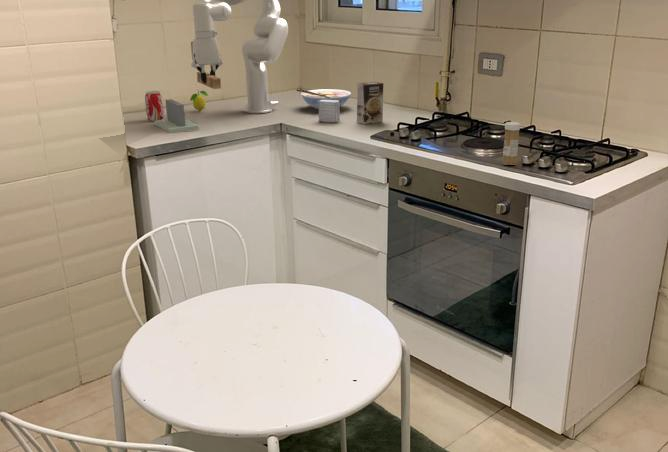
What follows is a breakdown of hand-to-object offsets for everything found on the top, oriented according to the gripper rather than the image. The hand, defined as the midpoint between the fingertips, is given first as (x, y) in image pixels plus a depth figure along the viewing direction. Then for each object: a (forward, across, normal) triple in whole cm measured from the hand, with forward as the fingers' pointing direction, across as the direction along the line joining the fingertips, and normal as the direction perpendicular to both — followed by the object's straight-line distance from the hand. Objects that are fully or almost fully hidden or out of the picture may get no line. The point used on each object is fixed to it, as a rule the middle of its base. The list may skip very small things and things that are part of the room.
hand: (208, 81), depth 267 cm
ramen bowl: (+18, -55, +2) cm, 57 cm away
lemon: (+17, -5, -26) cm, 31 cm away
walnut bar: (+1, 0, 0) cm, 1 cm away
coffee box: (+17, -55, +37) cm, 68 cm away
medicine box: (+17, -42, +26) cm, 52 cm away
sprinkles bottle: (+17, -54, +116) cm, 129 cm away
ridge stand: (+17, +15, 0) cm, 23 cm away
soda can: (+17, +18, -18) cm, 31 cm away
